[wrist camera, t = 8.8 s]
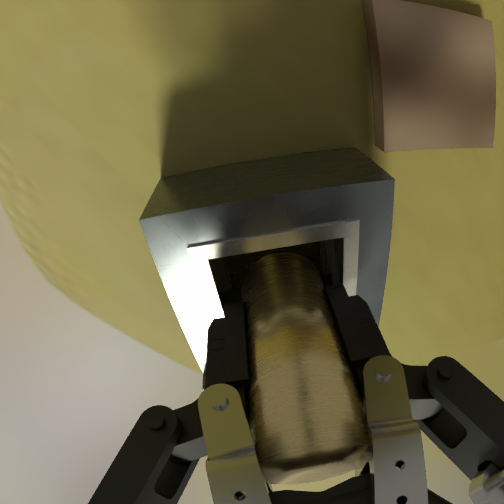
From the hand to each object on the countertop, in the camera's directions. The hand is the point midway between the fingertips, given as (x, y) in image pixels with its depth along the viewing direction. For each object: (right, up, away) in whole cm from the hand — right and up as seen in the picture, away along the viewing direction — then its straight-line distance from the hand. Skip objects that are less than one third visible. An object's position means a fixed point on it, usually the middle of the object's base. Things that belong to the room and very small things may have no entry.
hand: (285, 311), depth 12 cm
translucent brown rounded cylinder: (0, +1, +1) cm, 2 cm away
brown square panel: (+7, +11, -1) cm, 13 cm away
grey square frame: (0, +3, +4) cm, 5 cm away
